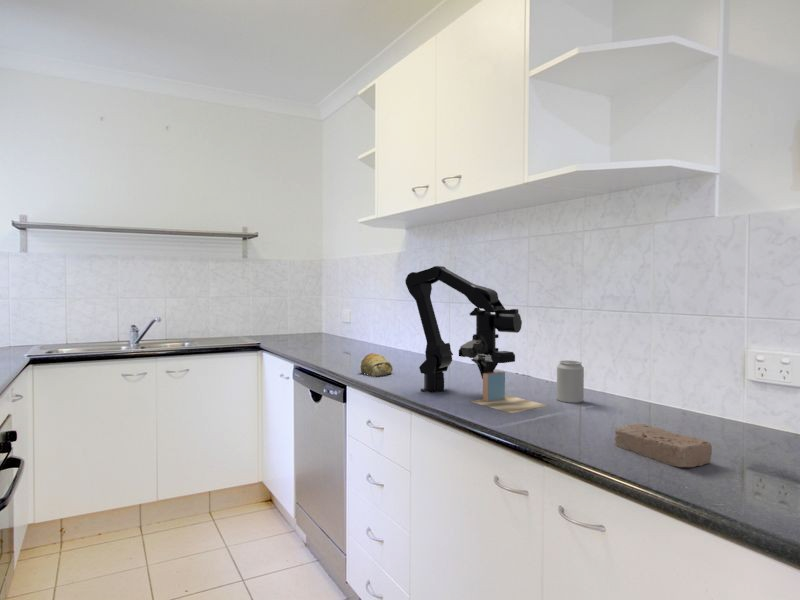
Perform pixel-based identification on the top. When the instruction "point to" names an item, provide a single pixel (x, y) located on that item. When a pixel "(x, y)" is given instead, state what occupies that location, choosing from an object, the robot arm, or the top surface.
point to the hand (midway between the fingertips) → (485, 382)
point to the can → (570, 381)
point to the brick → (663, 445)
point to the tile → (493, 386)
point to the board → (510, 404)
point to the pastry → (375, 365)
